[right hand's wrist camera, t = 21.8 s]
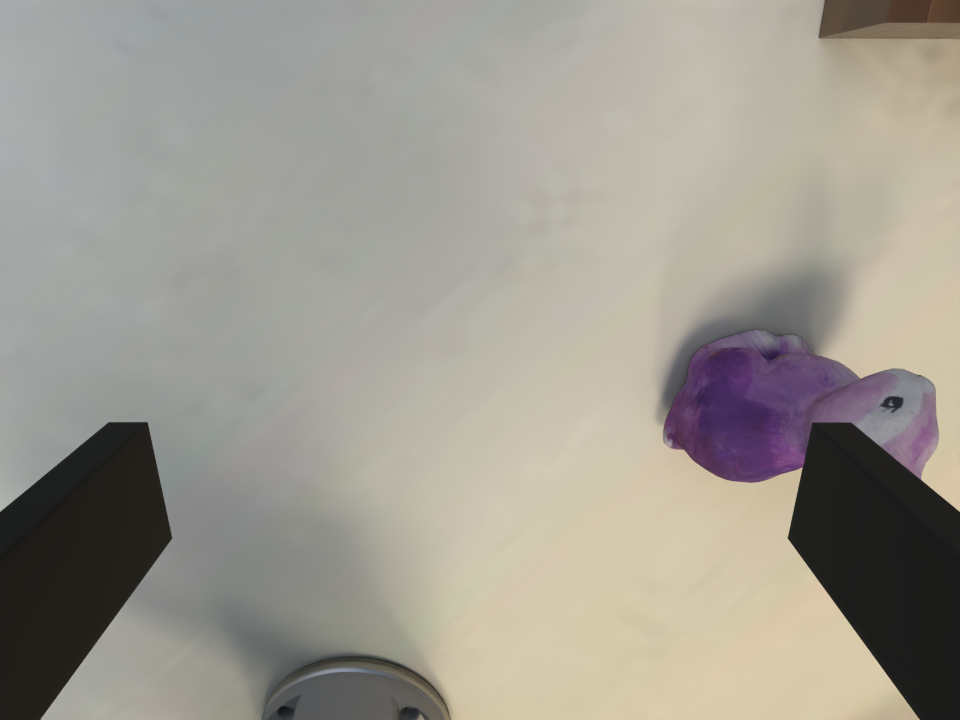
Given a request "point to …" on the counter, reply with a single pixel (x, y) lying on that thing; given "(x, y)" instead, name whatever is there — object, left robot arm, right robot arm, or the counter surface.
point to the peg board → (891, 19)
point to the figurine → (791, 407)
